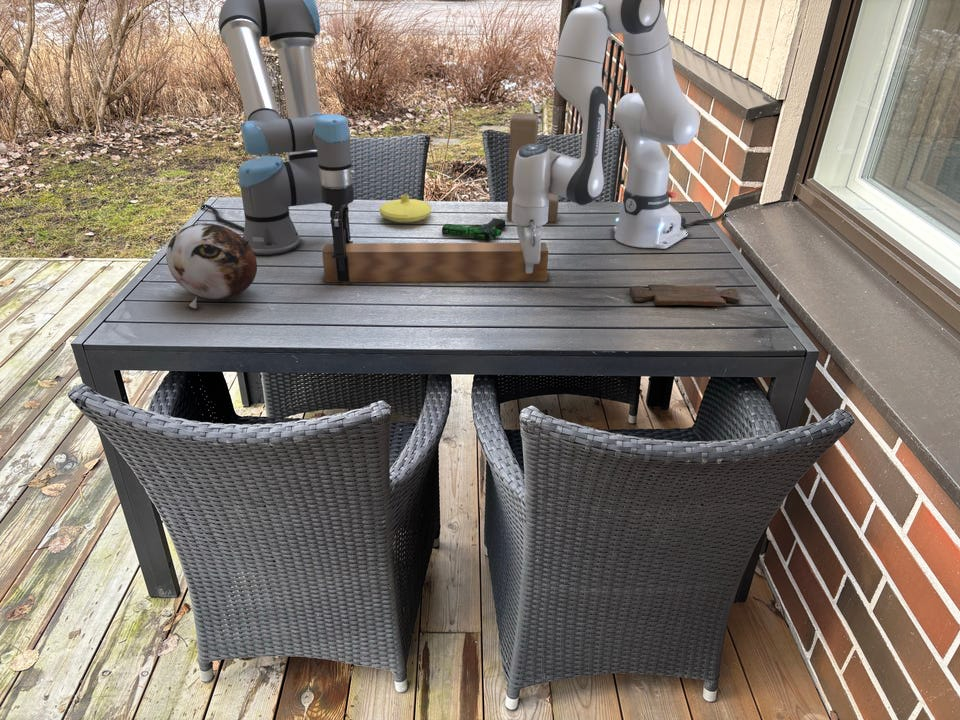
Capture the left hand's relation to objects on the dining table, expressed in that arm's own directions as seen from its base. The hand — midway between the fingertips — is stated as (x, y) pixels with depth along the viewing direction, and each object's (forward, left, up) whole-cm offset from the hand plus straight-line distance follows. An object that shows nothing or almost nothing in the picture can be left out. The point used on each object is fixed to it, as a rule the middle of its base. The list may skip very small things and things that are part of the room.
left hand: (345, 275), depth 179 cm
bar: (+19, +13, -1) cm, 23 cm away
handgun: (+9, +45, -1) cm, 46 cm away
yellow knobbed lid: (-14, +42, -1) cm, 45 cm away
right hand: (+37, +27, +2) cm, 46 cm away
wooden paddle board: (+75, +37, -1) cm, 84 cm away
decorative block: (+17, +65, -1) cm, 68 cm away
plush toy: (-17, -25, -1) cm, 30 cm away
